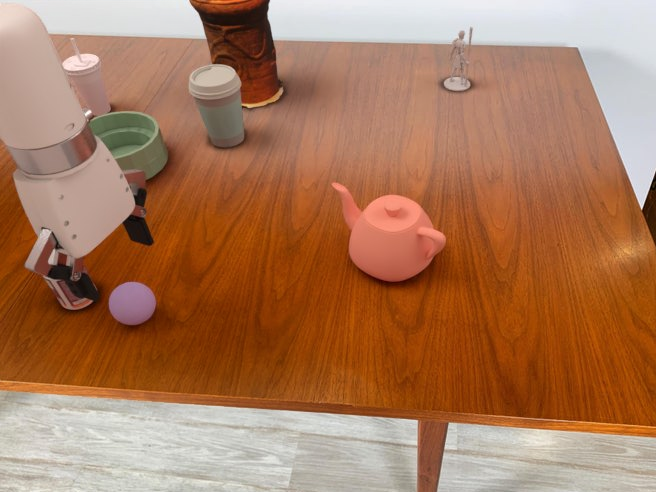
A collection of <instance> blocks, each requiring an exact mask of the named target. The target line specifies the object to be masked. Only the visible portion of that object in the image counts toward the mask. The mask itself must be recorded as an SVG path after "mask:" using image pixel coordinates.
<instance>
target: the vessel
mask: <svg viewBox="0 0 656 492" xmlns="http://www.w3.org/2000/svg"><path fill="white" fill-rule="evenodd" d="M188 1H189V4H190V6H191V7H192V8H193V10H195V11H196V13H197V14H198V16H199V19H200V21H201V24H202V27H203V31H204V36H205V39H206V43H207V46H208V50H209V54H210V55H209V56H210V62H211V65H214V64H220V65H227V66H230V67H232V68H233V69H234V70H235V72H236V74H237V75H238V76H239V78H240V81H241V87H240V92H241V104H242V107H246V108H247V109H252V108H257V107H264V106H267V105H268V104H271V103H275V102H276V101H278V100H279V99H280V97H281V96H282V95H283V93H284V86H283V83H284V82H283V81H282V80H281V79H280V78H279V75H278V65H277V51H276V50H277V49H276V45H275V41H274V37H273V32H272V26H271V23H270V22H271V21H270V19H269V16H268V15H269V11H270V3H271V0H188Z"/></svg>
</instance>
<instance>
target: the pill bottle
mask: <svg viewBox="0 0 656 492" xmlns="http://www.w3.org/2000/svg"><path fill="white" fill-rule="evenodd" d="M54 255H55V249H54V250H53V252H52V254H51V256H50V258H49V260H48V263H49V265H53V262H54ZM71 257H72V256H68V255H67V262H66V265H68V266H70V261H71ZM82 272H83V273H86V274H88V276H89V277H90V279H91V281H92V282H93V284H94V286H95V288H96V289H97V287H96V285H95V282H94V281H93V279H92V278H91V276H90V274H89V271H88V270H87V269H86V267H85V265H84V264H83V267H82ZM42 278H43V279H44V281H45V282H46V283H47V285H48V286H49V289H50V290H51V291H52V293H53V294H54V296H55V297H56V298H57V301H58V302H59V303H60V305H61V307H62V308H65V310H66V309H67V310H72V311H76V310H81V309H84V308H85V307H88V306H89V305H90V304H92V303H93V302H94V301H93V300H90V299H87V298H83V299H81V298H78V297H76V296H74V295H73V294H72V292H71V291H70V289H69V288H68V286H67V284H66V283H65V281H64V280H54V279H51V278H48V277H45V276H42ZM97 290H98V289H97Z"/></svg>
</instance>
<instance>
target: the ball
mask: <svg viewBox="0 0 656 492" xmlns="http://www.w3.org/2000/svg"><path fill="white" fill-rule="evenodd" d="M156 307H157V300H156V297H155V294H154V293H153V290H151V288H150V287H148V286H147V285H146V284H144V283H141V282H138V281H128V282H124V283H122V284H119V285H118V286H116V287H115V288H114V289H113V290H112V292H111V293H110V295H109V298H108V310H109V312H110V314H111V316H112V317H113V318H114V319H115V320H116V321H117V322H119V323H121V324H123V325H126V326H136V325H141V324H143V323H145V322H147V321H148V320H149V319H150V318H151V317H152V316H153V314H154V313H155V310H156Z"/></svg>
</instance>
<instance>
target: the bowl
mask: <svg viewBox="0 0 656 492" xmlns="http://www.w3.org/2000/svg"><path fill="white" fill-rule="evenodd" d="M89 125H90V127H91V129H92V132H93V134H94V135H96V136H97V137H99V138H100V139H101V141H102V142H103V143H104V144H105V146H106V147H107V148H108V150H109V151H110V153H111V154H112V156H113V157H114V159H115V160H116V162H117V164H118V165H119V167H120V169H121V171H124V170H130V169H138V170H142V171H144V172H145V174H146V181H147V180H149V179H151V178H153V177H155V176H156V175H157V174H158V173H159V172H160V171H162V170H163V168H164V167H165V165H167V162H168V159H169V152H168V149H167V146H166V143H165V140H164V137H163V134H162V131H161V127H160V125H159V123H158V120H157V119H156V118H154V117H153V116H151V115H150V114H147V113H144V112H140V111H132V110H131V111H130V110H122V111H112V112H108V113H107V114H104V115H100V116H94V118H93V119H92V120H91V121H90V123H89ZM129 187H131V186H130V183H129Z"/></svg>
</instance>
